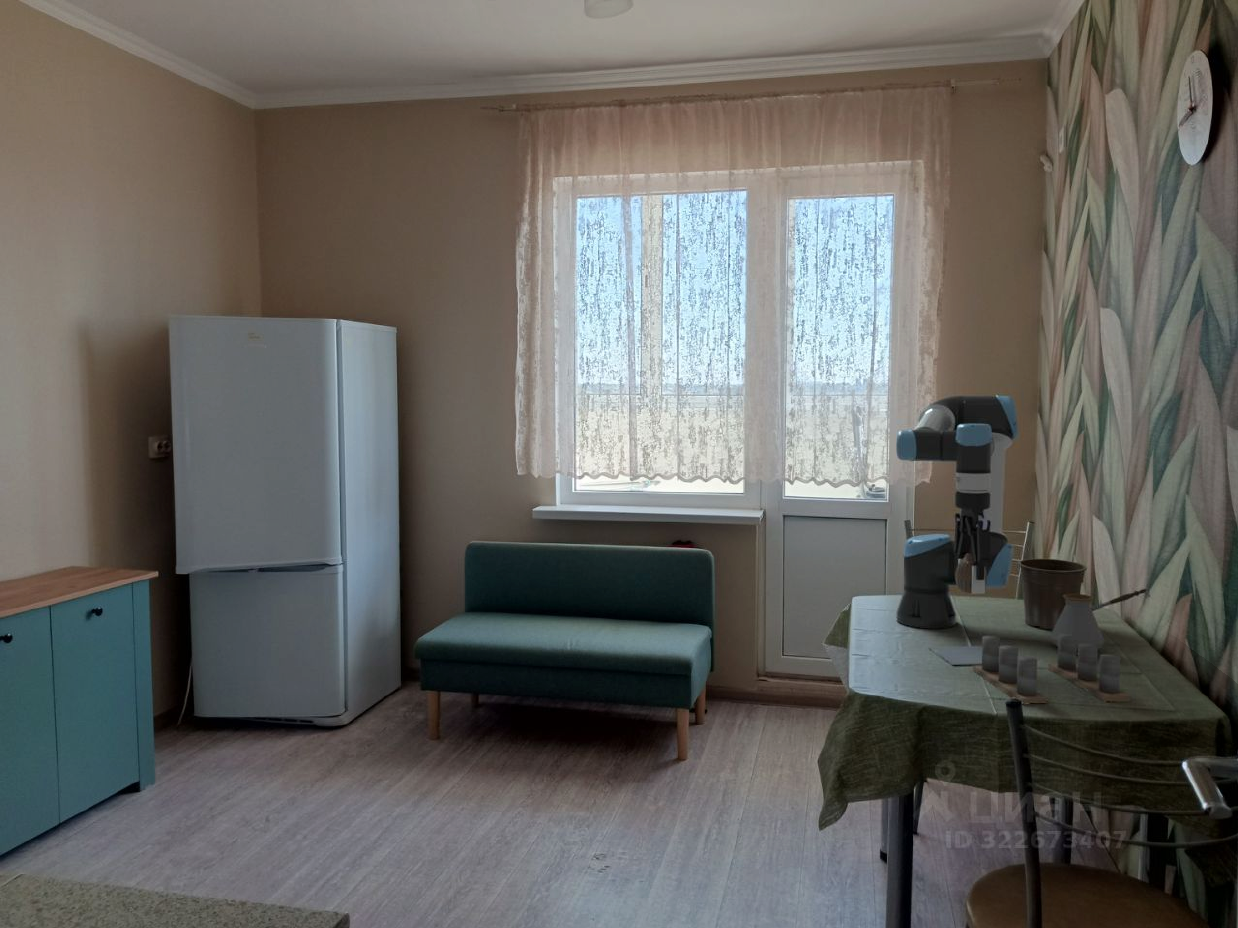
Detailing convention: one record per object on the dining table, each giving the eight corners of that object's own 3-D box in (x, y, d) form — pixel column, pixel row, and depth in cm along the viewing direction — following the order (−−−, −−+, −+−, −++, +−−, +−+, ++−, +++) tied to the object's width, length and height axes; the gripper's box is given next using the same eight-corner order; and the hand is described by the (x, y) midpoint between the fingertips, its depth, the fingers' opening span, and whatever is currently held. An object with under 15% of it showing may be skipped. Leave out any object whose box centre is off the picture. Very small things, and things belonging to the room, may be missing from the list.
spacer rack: (973, 670, 205) (973, 634, 204) (1070, 668, 206) (1071, 631, 205) (1021, 704, 183) (1022, 663, 182) (1129, 701, 184) (1131, 660, 183)
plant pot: (1097, 632, 235) (1098, 569, 234) (1032, 633, 236) (1034, 570, 234) (1067, 617, 251) (1069, 558, 250) (1007, 617, 252) (1008, 558, 251)
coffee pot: (1058, 655, 216) (1060, 592, 214) (1043, 642, 227) (1045, 582, 226) (1157, 658, 212) (1159, 594, 211) (1137, 645, 224) (1139, 583, 222)
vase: (991, 591, 215) (992, 553, 214) (979, 596, 210) (980, 557, 209) (962, 586, 220) (962, 550, 219) (949, 591, 215) (950, 554, 214)
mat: (928, 648, 223) (928, 646, 223) (985, 647, 223) (985, 645, 223) (952, 665, 209) (952, 664, 209) (1013, 664, 209) (1013, 662, 209)
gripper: (939, 486, 223) (938, 581, 224) (975, 496, 203) (973, 599, 205) (970, 486, 223) (968, 580, 225) (1009, 495, 203) (1006, 599, 205)
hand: (970, 589), depth 215 cm, fingers closed on vase, 7 cm apart
